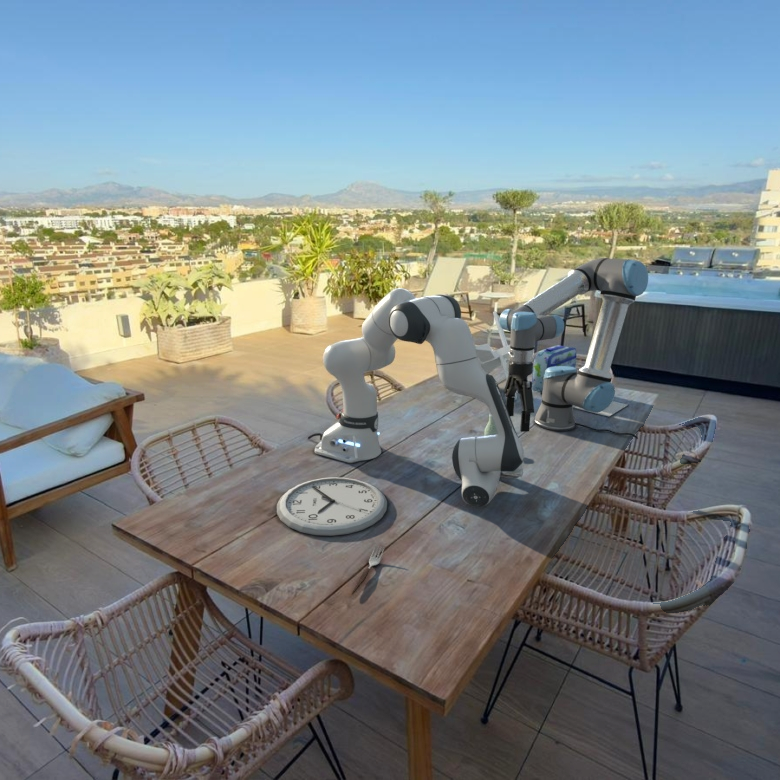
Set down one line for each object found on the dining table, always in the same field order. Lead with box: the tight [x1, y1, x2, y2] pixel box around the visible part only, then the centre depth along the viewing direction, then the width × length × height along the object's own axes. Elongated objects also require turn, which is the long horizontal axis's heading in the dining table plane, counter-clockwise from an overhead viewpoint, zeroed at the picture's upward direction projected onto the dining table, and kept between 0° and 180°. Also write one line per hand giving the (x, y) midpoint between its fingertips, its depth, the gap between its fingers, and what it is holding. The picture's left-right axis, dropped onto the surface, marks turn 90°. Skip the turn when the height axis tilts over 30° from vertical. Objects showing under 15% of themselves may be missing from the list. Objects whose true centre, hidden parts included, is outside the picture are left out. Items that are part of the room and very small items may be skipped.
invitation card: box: [573, 400, 629, 418], centre depth 226 cm, size 21×1×15 cm
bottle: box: [483, 413, 498, 436], centre depth 161 cm, size 6×6×19 cm
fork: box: [351, 545, 385, 596], centre depth 114 cm, size 3×16×2 cm, turn 160°
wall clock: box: [276, 476, 388, 537], centre depth 142 cm, size 30×2×30 cm
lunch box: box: [531, 345, 577, 394], centre depth 245 cm, size 26×11×21 cm, turn 134°
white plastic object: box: [475, 310, 517, 400], centre depth 245 cm, size 37×45×31 cm
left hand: (492, 453), depth 162 cm, fingers closed on bottle, 5 cm apart
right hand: (516, 423), depth 173 cm, fingers open, 13 cm apart
